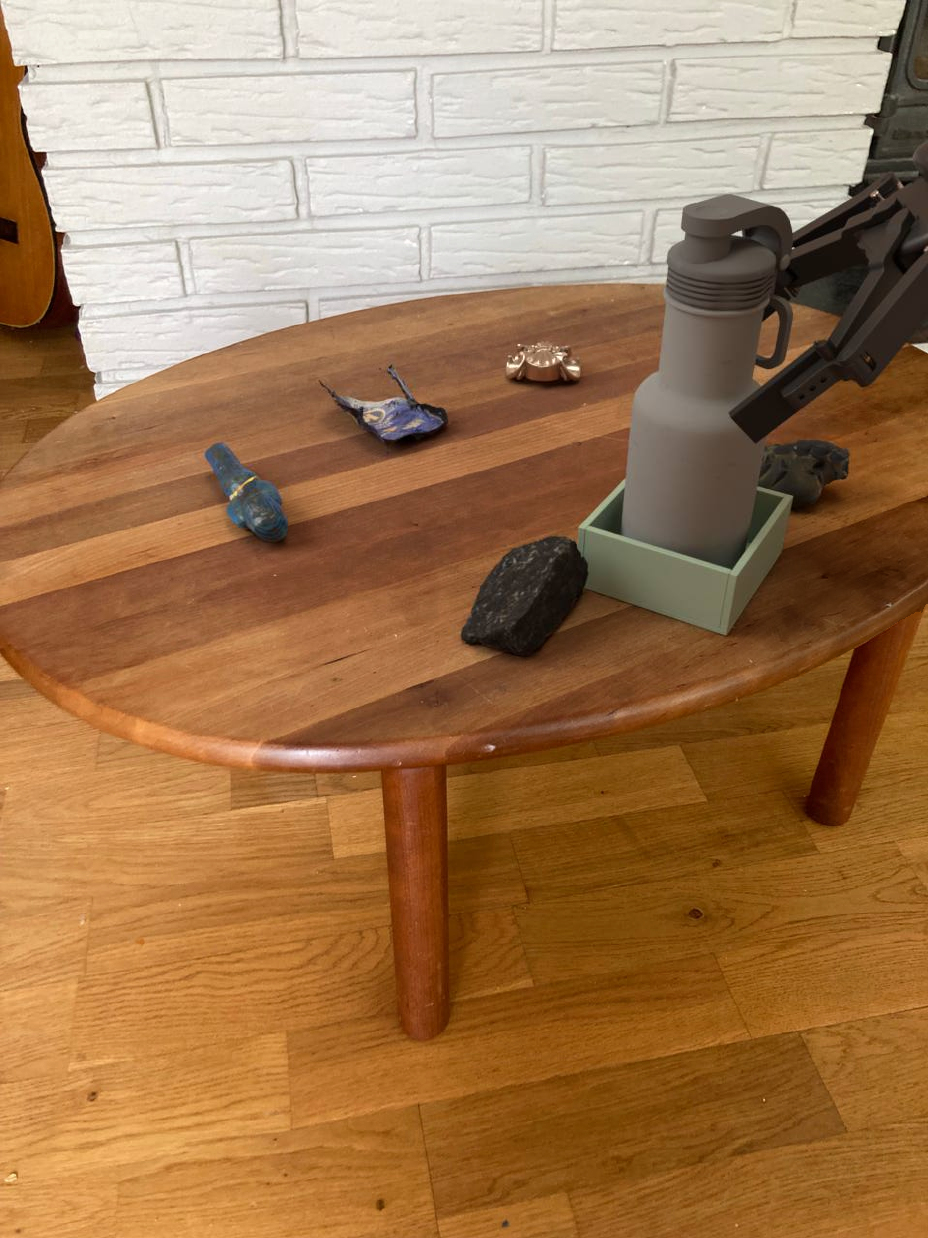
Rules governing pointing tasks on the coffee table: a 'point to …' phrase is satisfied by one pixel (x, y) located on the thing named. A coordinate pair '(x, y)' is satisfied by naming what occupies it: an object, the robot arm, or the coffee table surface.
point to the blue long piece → (248, 495)
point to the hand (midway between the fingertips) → (723, 383)
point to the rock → (527, 595)
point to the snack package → (393, 414)
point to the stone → (802, 469)
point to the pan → (681, 565)
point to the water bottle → (707, 383)
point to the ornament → (543, 363)
